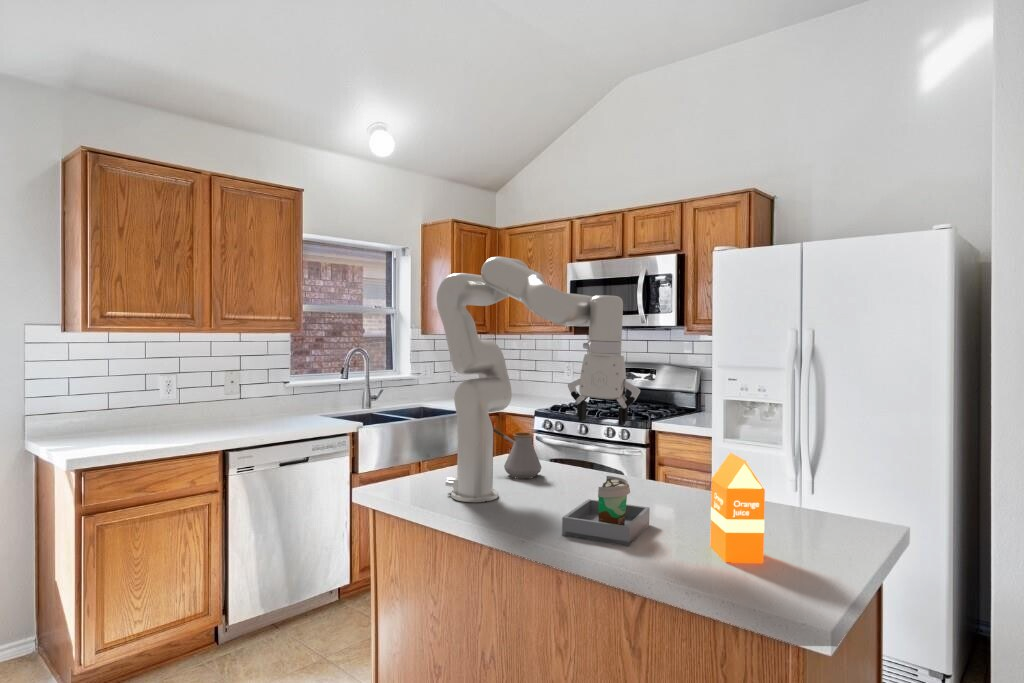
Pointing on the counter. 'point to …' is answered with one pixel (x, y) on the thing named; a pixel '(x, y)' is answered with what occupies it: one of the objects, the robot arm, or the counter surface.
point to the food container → (613, 500)
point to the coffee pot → (521, 456)
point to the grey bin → (605, 524)
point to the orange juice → (737, 513)
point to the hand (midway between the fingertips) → (601, 422)
